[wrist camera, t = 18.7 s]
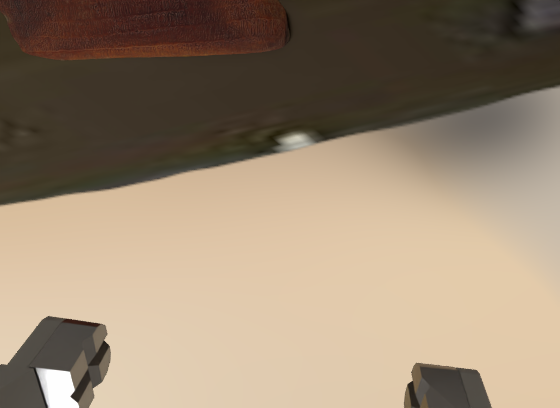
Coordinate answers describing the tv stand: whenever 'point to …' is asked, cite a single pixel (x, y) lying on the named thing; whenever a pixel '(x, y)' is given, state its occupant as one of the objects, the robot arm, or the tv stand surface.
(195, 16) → the reddish wooden board
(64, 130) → the tv stand surface
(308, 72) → the tv stand surface
